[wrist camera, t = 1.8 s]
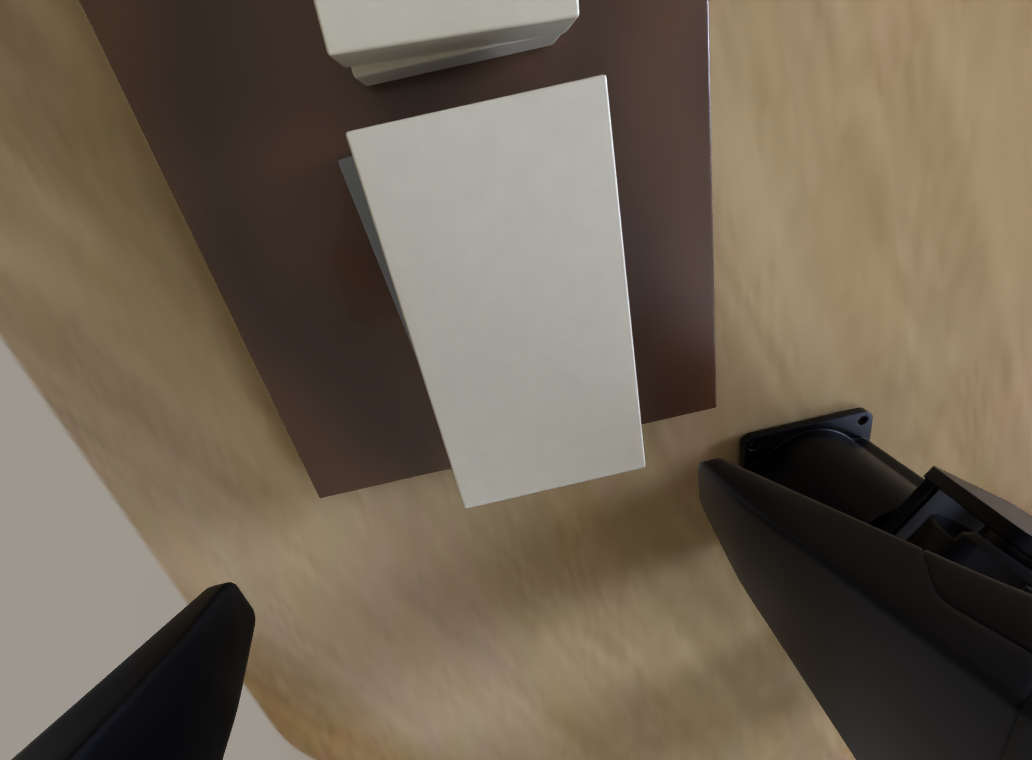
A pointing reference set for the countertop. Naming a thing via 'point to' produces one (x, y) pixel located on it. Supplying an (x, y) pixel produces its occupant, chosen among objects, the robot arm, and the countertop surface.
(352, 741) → the countertop surface
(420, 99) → the walnut board
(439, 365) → the cream book
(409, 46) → the white stack
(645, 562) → the countertop surface
